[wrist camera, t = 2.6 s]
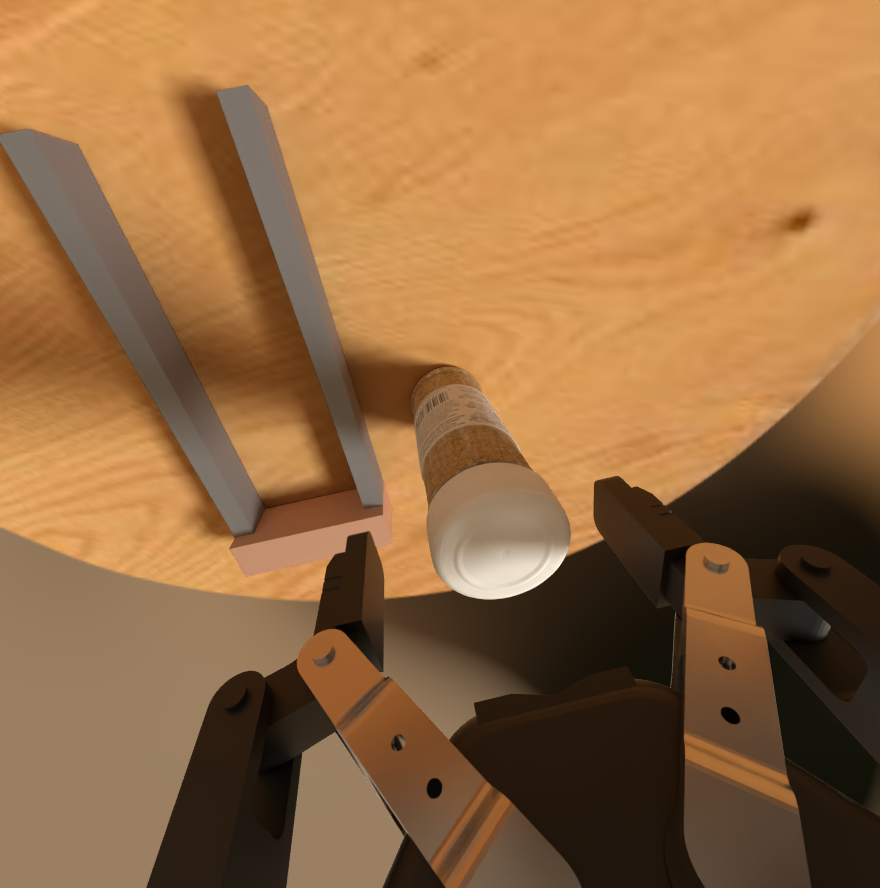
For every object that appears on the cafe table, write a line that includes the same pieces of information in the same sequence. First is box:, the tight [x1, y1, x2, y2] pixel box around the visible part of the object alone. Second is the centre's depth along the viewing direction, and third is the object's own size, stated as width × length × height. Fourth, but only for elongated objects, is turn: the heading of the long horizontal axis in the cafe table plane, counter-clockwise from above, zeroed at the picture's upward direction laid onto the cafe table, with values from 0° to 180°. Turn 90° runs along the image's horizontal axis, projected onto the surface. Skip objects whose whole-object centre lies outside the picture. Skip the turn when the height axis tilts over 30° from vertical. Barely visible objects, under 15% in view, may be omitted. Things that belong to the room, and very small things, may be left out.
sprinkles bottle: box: [411, 367, 571, 599], centre depth 18 cm, size 5×5×14 cm
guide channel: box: [0, 85, 392, 577], centre depth 20 cm, size 22×9×4 cm, turn 10°
